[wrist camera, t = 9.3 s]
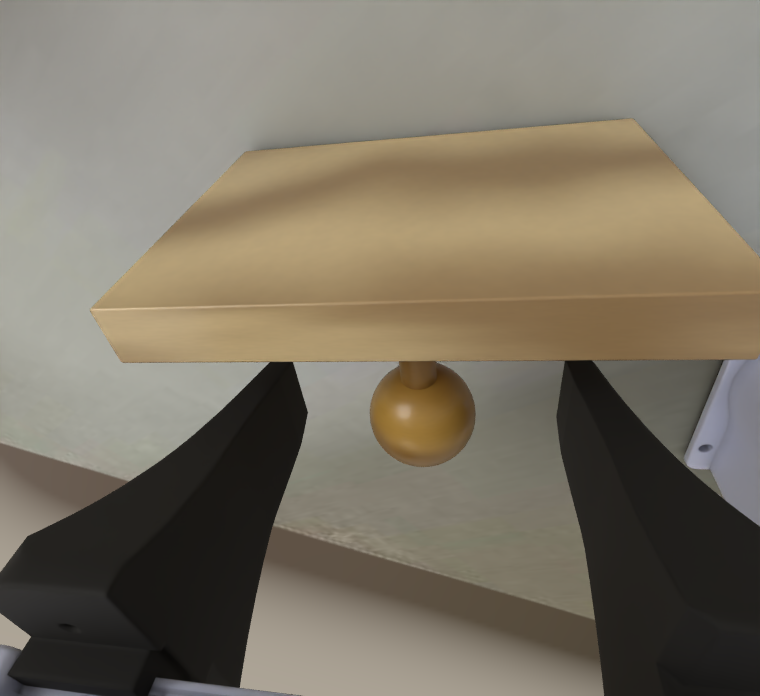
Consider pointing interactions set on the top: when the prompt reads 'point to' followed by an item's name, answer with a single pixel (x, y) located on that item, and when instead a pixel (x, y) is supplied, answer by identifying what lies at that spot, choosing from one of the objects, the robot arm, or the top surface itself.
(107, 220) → the top surface
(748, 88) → the top surface
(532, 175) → the wooden knob panel
